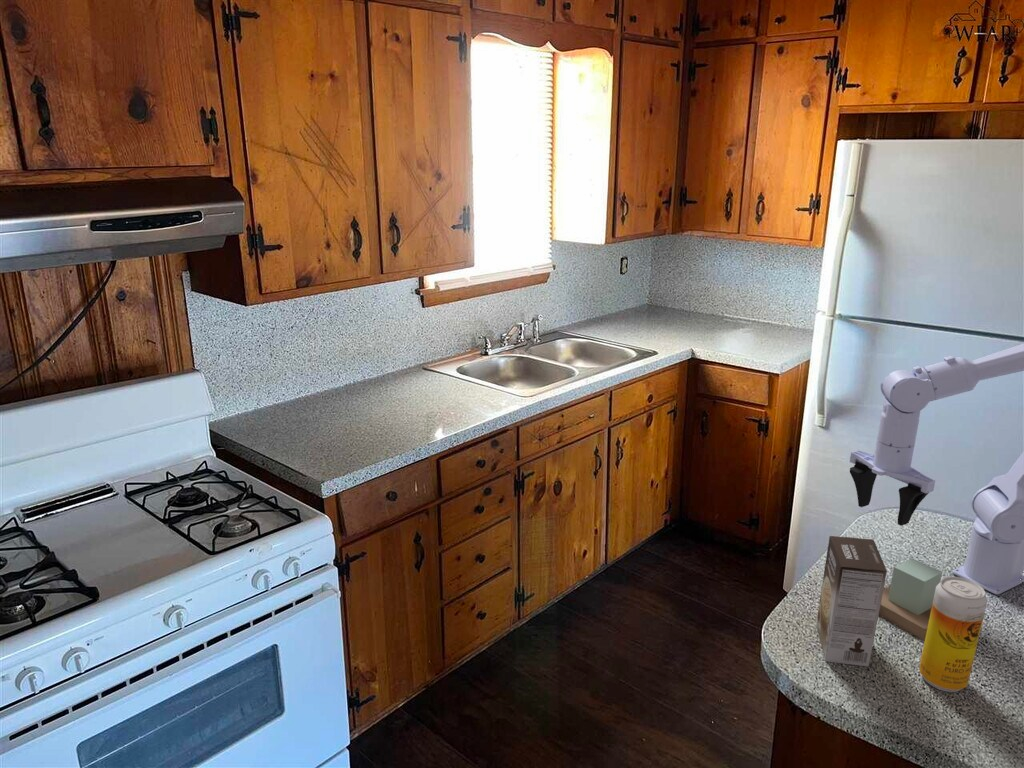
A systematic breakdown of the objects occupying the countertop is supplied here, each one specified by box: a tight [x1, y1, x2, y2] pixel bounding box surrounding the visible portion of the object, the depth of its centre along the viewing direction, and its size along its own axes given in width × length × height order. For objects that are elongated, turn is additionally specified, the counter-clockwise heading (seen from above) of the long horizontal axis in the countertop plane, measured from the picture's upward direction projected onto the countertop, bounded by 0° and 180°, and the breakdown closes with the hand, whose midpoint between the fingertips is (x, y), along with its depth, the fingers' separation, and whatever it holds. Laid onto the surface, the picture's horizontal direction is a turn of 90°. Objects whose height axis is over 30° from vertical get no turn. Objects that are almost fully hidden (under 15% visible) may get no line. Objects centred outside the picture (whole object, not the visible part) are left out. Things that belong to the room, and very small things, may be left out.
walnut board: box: [879, 585, 932, 641], centre depth 123 cm, size 10×10×2 cm
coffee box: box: [815, 535, 888, 667], centre depth 113 cm, size 9×6×16 cm
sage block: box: [888, 557, 943, 615], centre depth 122 cm, size 5×5×6 cm
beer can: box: [918, 576, 988, 693], centre depth 106 cm, size 6×6×15 cm
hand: (882, 514), depth 133 cm, fingers open, 7 cm apart
